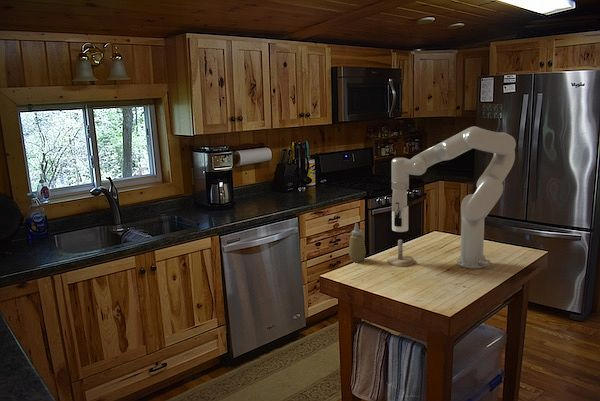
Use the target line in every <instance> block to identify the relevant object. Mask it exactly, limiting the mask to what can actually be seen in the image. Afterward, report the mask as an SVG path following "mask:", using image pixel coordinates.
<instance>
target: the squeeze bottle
mask: <svg viewBox="0 0 600 401" xmlns="http://www.w3.org/2000/svg"><path fill="white" fill-rule="evenodd" d="M366 251H367V250H366V244H365V236H364V235H363V231H362V230H360V226H359V223H358V222H357V223H356V222H355V224H354V229H353V230H351V235H350V236H349V245H348V255H349V257H350V261H352V262H354V263H361V262H364V260H365V257H366V254H367V252H366Z"/></svg>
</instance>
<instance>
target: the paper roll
mask: <svg viewBox="0 0 600 401" xmlns="http://www.w3.org/2000/svg"><path fill="white" fill-rule="evenodd" d="M394 211H395V210H394ZM394 211H392V210H391V230H392V231H393V232H397V233H404V232H408V231H409V205H408V204H407V205H406V206H405V207H404V208H403V211H402V212H401V218H402V226H401V227H397V226H394V214H395V212H394ZM398 211H400V208H399V209H398ZM398 213H399V212H398ZM399 215H400V213H399Z"/></svg>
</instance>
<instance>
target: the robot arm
mask: <svg viewBox="0 0 600 401" xmlns="http://www.w3.org/2000/svg"><path fill="white" fill-rule="evenodd" d="M516 146H517V142H516V139H515V138H514V136H512V135H510V134H508V133H506V132H503V131H502V132H501V131H500V132H499V131H498V132H497V131H492V130H489V129H488V130H487V129H485V128H482V127H479V126H470V127H467V128H466V129H464V130H462V131H460V132H459V133H457V134H455V135H452V136H450V137H449V138H446V139H445V140H443V141H441V142H439V143H437V144H435V145H433V146H432V147H429V148H427V149H425V150H423V151H422V152H419V153H418V154H416V155H414V156H413V157H411V158H410V159H409V158H406V157H394V158H392V160H391V190H392V195H391V196H392V197H391V212H392V211H394V210H395V211H394V212H395V214H394V226H397V227H401V226H402V218H401V212H402V211H403V208H404V207H405V206H406V205H407V206H408V196H407V195H408V190H409V189H410V188H409V187H410V175H412V176H422V175H424V174H425V173H426V172H427V170H428V168H430V167H432V166H433V165H435V164H438V163H440V162H443V161H450V160H453V159H455V158H457V157H458V156H460V155H462V154H464V153H466V152H468V151H470V150H472V149H475V150H478V151H482V152H486V153H492V154H493V156H492V158H491V160H490V162H489V164H488V165H487V167H486V168H485V170H484V171H483V173H482V174H481V175H480V176H479V178H478V180H477V181H476V190H475V191H474V193H470V194H468V195H465V196H464V198H463V199H462V200H461V205H460V213H461V214H460V215H461V216H460V218H461V226H460V227H461V229H460V258H458V259H457V260H456V264H457V265H458V266H459V267H461V268H465V269H472V270H473V269H474V270H476V269H483V268H485V267H489V266H490V264H491V260H490V259H486V255H485V254H484V245H485V244H484V243H485V242H484V240H485V218H487V216H488V214H490V212H491V211H492V210H493V208H494V207H495V205H496V204H497V203H498V201H499V200H500V198H501V196H502V195H503V193H504V192H503V191H504V184H503V182H504V181H505V179H506V177H508V175H509V173H510V171H511V170H512V168H513V165H514V163H515V160H516V151H515V149H516ZM399 208H400V211H398V209H399ZM398 212H399V213H400V215H399V213H398Z"/></svg>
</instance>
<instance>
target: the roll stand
mask: <svg viewBox="0 0 600 401" xmlns="http://www.w3.org/2000/svg"><path fill="white" fill-rule="evenodd" d="M403 241H404V240H403V239H397V254H394V255H389V256H388V257H386V263H387V264H388V265H390V266H391V267H392V266H393V267H400V268H401V267H403V268H404V267H410V266H412V265H413V264H414V262H415V260H414V259H415V258H414V257H412V256H410V255H406V254H403V253H404V252H403V246H404V245H403V244H404V242H403Z"/></svg>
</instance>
